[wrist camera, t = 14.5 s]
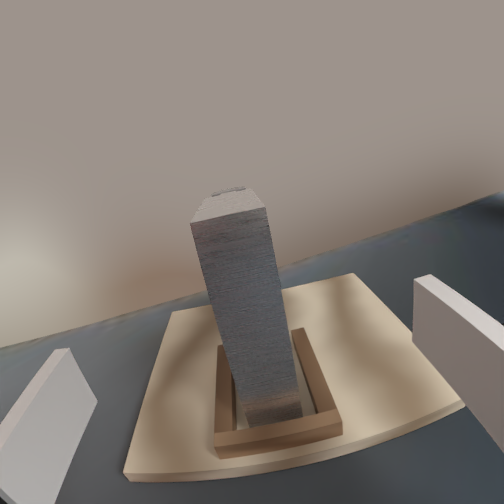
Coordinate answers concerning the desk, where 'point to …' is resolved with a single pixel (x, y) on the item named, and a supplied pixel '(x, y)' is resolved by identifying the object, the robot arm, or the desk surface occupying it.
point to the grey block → (248, 303)
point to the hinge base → (309, 383)
